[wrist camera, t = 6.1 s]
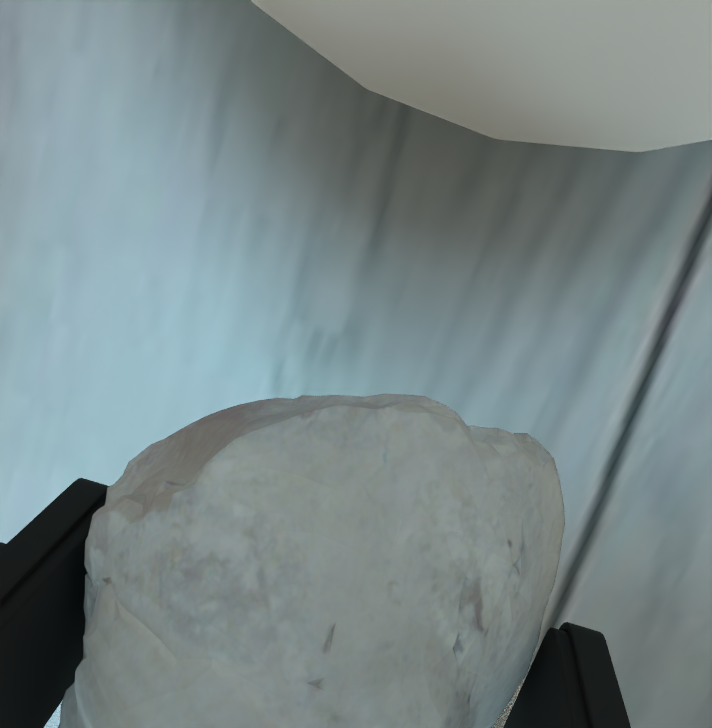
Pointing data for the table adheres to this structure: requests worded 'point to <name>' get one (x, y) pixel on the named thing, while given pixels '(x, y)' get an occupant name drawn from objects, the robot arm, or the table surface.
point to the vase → (528, 64)
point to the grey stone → (318, 571)
